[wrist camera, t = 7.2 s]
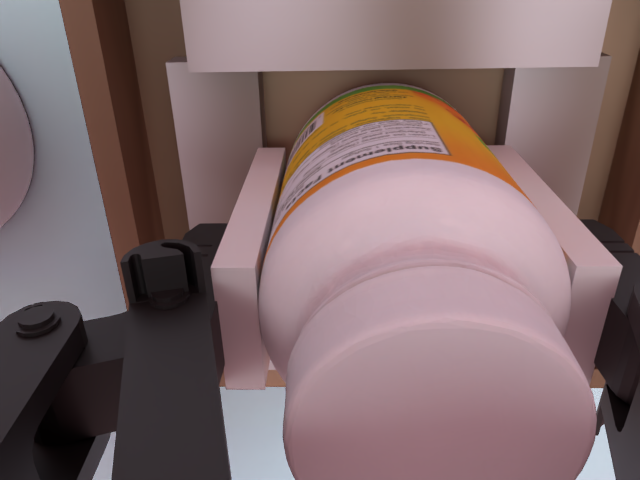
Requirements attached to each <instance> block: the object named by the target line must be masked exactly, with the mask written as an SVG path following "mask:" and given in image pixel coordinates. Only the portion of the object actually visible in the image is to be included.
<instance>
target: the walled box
mask: <svg viewBox="0 0 640 480" xmlns="http://www.w3.org/2000/svg"><path fill="white" fill-rule="evenodd" d="M59 4H60V8H61V13H62V17H63V22H64V26H65V31H66V35H67V40H68V44H69V49H70V53H71V58H72V62H73V67H74V72H75V76H76V81H77V85H78V90H79V94H80V99H81V103H82V108H83V112H84V117H85V121H86V126H87V130H88V135H89V139H90V144H91V149H92V153H93V158H94V162H95V167H96V171H97V176H98V180H99V185H100V189H101V194H102V198H103V203H104V207H105V212H106V217H107V221H108V226H109V230H110V235H111V239H112V244H113V248H114V253H115V257H116V262H117V266H118V271H119V275H120V280H121V284H122V289H123V294H124V298H125V303H126V307H127V311H128V309H129V301H128V297H127V292H126V288H125V283H124V278H123V274H122V269H121V265H120V262H121V260H122V258H123V256H124V255H125V254H126V253H128V252H129V251H130V250H132V249H133V248H135V247H137V246H140V245H142V244H145V243H148V242H153V241H157V240H165V239H178V240H182V239H183V237H184V235H185V233H187V232H188V231H190V230H191V229H192V228H194V227H195V226H197V225H198V224H200V223H229V220H230V217H231V215H232V212H233V210H234V207H235V205H236V202H237V200H238V197H239V195H240V192H241V190H242V187H243V185H244V182H245V180H246V177H247V175H248V172H249V170H250V167H251V165H252V162H253V159H254V157H255V154H256V152H257V149H258V148H285V151H286V166H287V162H288V159H289V156H290V153H291V150H292V148H293V145H294V143H295V141H296V138H297V137H298V135H299V133H300V131H301V130H302V128H303V126H304V125H305V124H306V123H307V121H308V120H309V119H310V118H311V117H312V116H313V114H314V113H315V112H317V111H318V110H319V109H320V108H321V107H322V106H323V105H325V104H326V103H327V102H329V101H330V100H332V99H333V98H335V97H336V96H338V95H340V94H342V93H344V92H346V91H349V90H351V89H354V88H357V87H361V86H365V85H370V84H378V83H400V84H406V85H412V86H415V87H419V88H422V89H424V90H427V91H429V92H431V93H433V94H435V95H437V96H439V97H440V98H442V99H443V100H445V101H446V102H447V103H449V104H450V105H451V106H452V107H453V108H455V109H456V111H457V112H458V113H459V114H460V115H462V116H463V117H464V119H465V120H466V121H467V122H468V124H469V125H470V126H471V127H472V128H473V130H474V131H475V132H476V133H477V134H478V136H479V137H480V138H481V139H482V141H483V142H484V143H485V144H486V145H510V146H511V147H512V148H513V149H514V150H515V151H516V152H517V153H518V154H519V155H520V156H521V158H522V159H523V160H524V161H525V162H526V163H527V164H528V165H529V166H530V167H531V168H532V169H533V170H534V172H535V173H536V174H537V175H538V176H539V177H540V178H541V179H542V180H543V181H544V182H545V183H546V184H547V185H548V187H549V188H550V189H551V190H552V191H553V192H554V193H555V194H556V195H557V196H558V197H559V198H560V199H561V201H562V202H563V203H564V204H565V205H566V206H567V207H568V208H569V209H570V210H571V211H572V212H573V213H574V215H575V216H576V217H577V218H578V219H594V220H596V221H598V222H600V223H601V224H603V225H605V226H607V227H609V228H611V229H613V230H614V231H615V232H616V233H617V234H618V235H619V236H620V237H621V238H622V239H623V240H624V241H625V243H627V244H628V245H629V246H630V247H631V248H632V249H633V250H634V253H637V254H638V255H640V0H59ZM605 382H606V381H605V379H604V378H603V376H602V375H601V373H600V372H599V370H598V368H597V367H596V365H595V368H594V372H593V375H592V379H591V382H590V388H604V385H605ZM219 387H226V384H225V377H224V370H223V374H222V377H221V381H220V385H219ZM266 387H286V383H285V382H284V381H283V379H282V378H281V376H280V375H279V373H278V372H277V370H276V369H275V367H274V365H273V363H272V361H271V359H270V362H269V368H268V374H267V381H266Z"/></svg>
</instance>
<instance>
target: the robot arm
mask: <svg viewBox="0 0 640 480" xmlns="http://www.w3.org/2000/svg"><path fill="white" fill-rule="evenodd" d="M486 146H487V147H488V148H489V149H490V150H491V152H492V153H493V154H494V155H495V157H496V158H497V159H498V160H499V162H500V163H501V164H502V166H503V167H504V168H505V169H506V171H507V172H508V173H509V174H510V176H511V177H512V178H513V180H514V181H515V182H516V183H517V185H518V186H519V187H520V188H521V190H522V191H523V192H524V193H525V194H526V196H527V197H528V198H529V199H530V201H531V202H532V203H533V204H534V206H535V207H536V208H537V210H538V211H539V212H540V214H541V215H542V217H543V218H544V219H545V221H546V222H547V224H548V226H549V227H550V229H551V230H552V232H553V233H554V235H555V237H556V238H557V240H558V242H559V244H560V246H561V249H562V251H563V254H564V257H565V260H566V263H567V266H568V271H569V276H570V281H571V309H570V316H569V322H568V326H567V330H566V333H565V336H564V339H565V341H566V343H567V344H568V346H569V348H570V350H571V351H572V353H573V355H574V357H575V358H576V360H577V362H578V364H579V366H580V367H581V369H582V371H583V373H584V375H585V377H586V379H587V382H588V384H589V386H590V382H591V379H592V375H593V372H594V368H595V365H596V367H597V368H598V370H599V372H600V373H601V375H602V376H603V378H604V379H605V381H606V382H605V385H604V389H603V392H602V395H601V399H600V402H599V406H598V409H597V412H596V416H597V424H596V434H595V435H598V434H599V431H600V427H601V426H602V425H603V424H605V428H606V433H607V438H608V443H609V448H610V453H611V458H612V463H613V467H614V472H615V477H616V480H640V255H638V254H637V253H634V250H633V249H632V248H631V247H630V246H629V245H628V244H627V243H625V241H624V240H623V239H622V238H621V237H620V236H619V235H618V234H617V233H616V232H615V231H614V230H613V229H611V228H609V227H607V226H605V225H603V224H601V223H600V222H598V221H596V220H594V219H578V218H577V217H576V216H575V215H574V213H573V212H572V211H571V210H570V209H569V208H568V207H567V206H566V205H565V204H564V203H563V202H562V201H561V199H560V198H559V197H558V196H557V195H556V194H555V193H554V192H553V191H552V190H551V189H550V188H549V187H548V185H547V184H546V183H545V182H544V181H543V180H542V179H541V178H540V177H539V176H538V175H537V174H536V173H535V172H534V170H533V169H532V168H531V167H530V166H529V165H528V164H527V163H526V162H525V161H524V160H523V159H522V158H521V156H520V155H519V154H518V153H517V152H516V151H515V150H514V149H513V148H512V147H511V146H510V145H486ZM285 170H286V151H285V148H258V149H257V152H256V154H255V157H254V159H253V162H252V165H251V167H250V170H249V172H248V175H247V177H246V180H245V182H244V185H243V187H242V190H241V192H240V195H239V197H238V200H237V202H236V205H235V207H234V210H233V212H232V215H231V217H230V220H229V223H200V224H198V225H197V226H195V227H194V228H192V229H191V230H190V231H188V232H187V233H185V235H184V237H183V239H182V240H178V239H165V240H157V241H153V242H148V243H145V244H142V245H140V246H137V247H135V248H133V249H132V250H130V251H129V252H128V253H126V254H125V255H124V256H123V258H122V260H121V262H120V265H121V269H122V274H123V278H124V283H125V288H126V292H127V297H128V301H129V309H128V311H126V312H124V313H121V314H117V315H113V316H109V317H104V318H98V319H93V320H88V321H83V319H82V315H81V313H80V311H79V309H78V307H77V306H75V305H73V304H71V303H69V302H61V301H51V302H40V303H35V304H34V305H29V306H26V307H23V308H22V309H20V310H18V311H16V312H14V313H12V314H10V315H9V316H7V317H6V318H5V319H4V320H3V321H1V322H0V480H92V479H93V476H94V474H95V472H96V469H97V467H98V464H99V462H100V460H101V457H102V455H103V453H104V450H105V448H106V446H107V443H108V441H109V438H110V434H111V432H115V431H116V440H115V450H114V460H113V470H112V480H232V479H231V471H230V464H229V456H228V448H227V441H226V433H225V426H224V418H223V410H222V403H221V395H220V388H219V385H220V381H221V377H222V374H223V370H224V377H225V384H226V389H265V387H266V381H267V374H268V368H269V362H270V357H269V355H268V352H267V350H266V347H265V345H264V341H263V337H262V333H261V329H260V321H259V309H258V300H259V288H260V279H261V273H262V267H263V262H264V258H265V255H266V251H267V247H268V243H269V239H270V235H271V231H272V226H273V222H274V218H275V213H276V209H277V205H278V200H279V196H280V191H281V187H282V183H283V178H284V174H285Z"/></svg>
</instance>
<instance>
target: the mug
mask: <svg viewBox="0 0 640 480" xmlns="http://www.w3.org/2000/svg"><path fill="white" fill-rule="evenodd" d="M33 166H34V146H33V140H32V133H31V129H30V125H29V122H28V118H27V114H26V112H25V110H24V107H23V105H22V102H21V100H20V98H19V96H18V94H17V92H16V90H15V88H14V87H13V85H12V83H11V81H10V80H9V78H8V77H7V75H6V74H5V72H4V71H3V69H2V68H1V67H0V228H1V227H2V226H3V225H4V224H5V223H6V222H7V221H8V220H9V219H10V218H11V217H12V216H13V215H14V213H15V212H16V211H17V209H18V208H19V207H20V205H21V203H22V201H23V199H24V197H25V195H26V193H27V191H28V189H29V185H30V182H31V179H32V173H33Z"/></svg>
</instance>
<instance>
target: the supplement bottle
mask: <svg viewBox="0 0 640 480" xmlns="http://www.w3.org/2000/svg"><path fill="white" fill-rule="evenodd" d="M258 309H259V321H260V329H261V333H262V337H263V341H264V345H265V347H266V350H267V352H268V355H269V357H270V359H271V361H272V363H273V365H274V367H275V369H276V370H277V372H278V373H279V375H280V376H281V378H282V379H283V381H284V382H285V383H286V399H285V412H284V420H283V442H284V449H285V454H286V459H287V462H288V465H289V467H290V470H291V472H292V474H293V477H294V478H295V480H575V479H576V478H577V476H578V475H579V474H580V472H581V471H582V469H583V467H584V465H585V463H586V461H587V459H588V457H589V455H590V452H591V450H592V447H593V444H594V441H595V434H596V424H597V416H596V407H595V402H594V397H593V393H592V391H591V388H590V386H589V384H588V382H587V379H586V377H585V375H584V373H583V371H582V369H581V367H580V366H579V364H578V362H577V360H576V358H575V357H574V355H573V353H572V351H571V350H570V348H569V346H568V344H567V343H566V341H565V339H564V336H565V333H566V330H567V326H568V322H569V316H570V309H571V281H570V276H569V271H568V266H567V263H566V260H565V257H564V254H563V251H562V249H561V246H560V244H559V242H558V240H557V238H556V237H555V235H554V233H553V232H552V230H551V229H550V227H549V226H548V224H547V222H546V221H545V219H544V218H543V217H542V215H541V214H540V212H539V211H538V210H537V208H536V207H535V206H534V204H533V203H532V202H531V201H530V199H529V198H528V197H527V196H526V194H525V193H524V192H523V191H522V190H521V188H520V187H519V186H518V185H517V183H516V182H515V181H514V180H513V178H512V177H511V176H510V174H509V173H508V172H507V171H506V169H505V168H504V167H503V166H502V164H501V163H500V162H499V160H498V159H497V158H496V157H495V155H494V154H493V153H492V152H491V150H490V149H489V148H488V147H487V146H486V144H485V143H484V142H483V141H482V139H481V138H480V137H479V136H478V134H477V133H476V132H475V131H474V130H473V128H472V127H471V126H470V125H469V124H468V122H467V121H466V120H465V119H464V117H463V116H462V115H460V114H459V113H458V112H457V111H456V109H455V108H453V107H452V106H451V105H450V104H449V103H447V102H446V101H445V100H443V99H442V98H440V97H439V96H437V95H435V94H433V93H431V92H429V91H427V90H424V89H422V88H419V87H415V86H412V85H406V84H400V83H378V84H370V85H365V86H361V87H357V88H354V89H351V90H349V91H346V92H344V93H342V94H340V95H338V96H336V97H335V98H333V99H332V100H330V101H329V102H327V103H326V104H325V105H323V106H322V107H321V108H320V109H319V110H318V111H317V112H315V113H314V114H313V116H312V117H311V118H310V119H309V120H308V121H307V123H306V124H305V125H304V126H303V128H302V130H301V131H300V133H299V135H298V137H297V138H296V141H295V143H294V145H293V148H292V150H291V153H290V156H289V159H288V162H287V166H286V170H285V174H284V178H283V183H282V187H281V191H280V196H279V200H278V205H277V209H276V213H275V218H274V222H273V226H272V231H271V235H270V239H269V243H268V247H267V251H266V255H265V258H264V262H263V267H262V273H261V279H260V288H259V300H258Z"/></svg>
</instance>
